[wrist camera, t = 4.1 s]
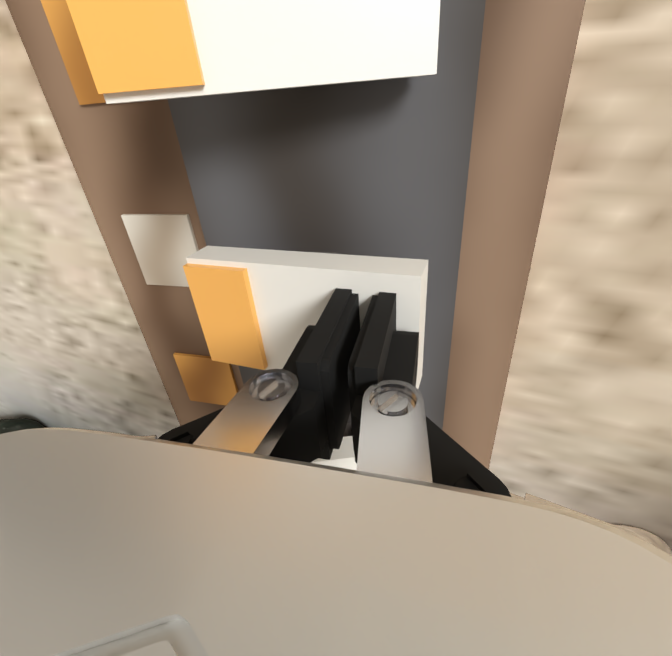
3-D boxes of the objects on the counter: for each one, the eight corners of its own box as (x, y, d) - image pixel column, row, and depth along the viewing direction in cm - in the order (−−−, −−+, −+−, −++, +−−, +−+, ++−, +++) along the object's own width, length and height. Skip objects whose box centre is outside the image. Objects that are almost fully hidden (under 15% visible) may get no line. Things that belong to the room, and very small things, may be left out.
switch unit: (647, -357, 9) (863, -856, 4) (483, 470, 25) (490, 562, 20) (-22, -132, 15) (-252, -234, 10) (192, 422, 31) (143, 485, 26)
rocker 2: (428, 259, 11) (419, 280, 10) (422, 375, 14) (414, 403, 12) (207, 245, 14) (180, 260, 13) (233, 344, 16) (213, 364, 15)
